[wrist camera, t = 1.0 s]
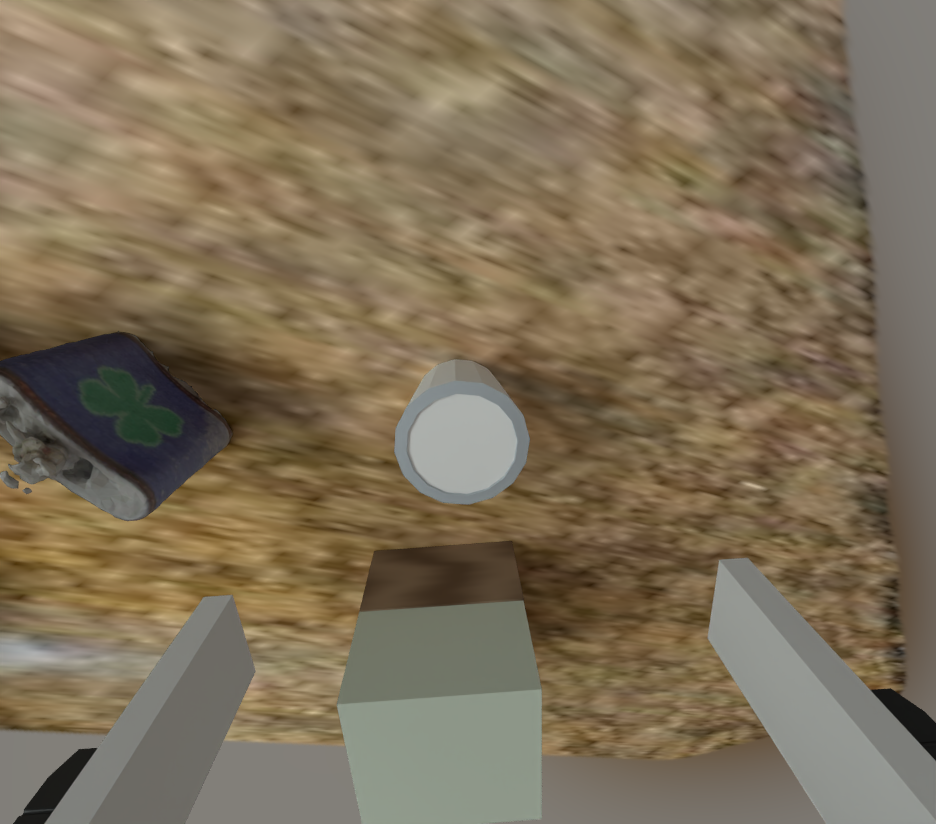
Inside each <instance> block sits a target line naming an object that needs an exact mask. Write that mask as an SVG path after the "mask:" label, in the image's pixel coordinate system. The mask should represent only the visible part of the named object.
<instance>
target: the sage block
mask: <svg viewBox="0 0 936 824" xmlns="http://www.w3.org/2000/svg"><path fill="white" fill-rule="evenodd" d="M337 708H338V713H339V718H340V722H341V727H342V732H343V737H344V741H345V746H346V751H347V755H348V760H349V765H350V769H351V774H352V779H353V783H354V789H355V793H356V797H357V803H358V807H359V812H360V817H361V822H362V824H484V823H497V822H510V821H523V820H536V819H542V804H541V803H542V688H541V684H540V679H539V674H538V669H537V664H536V659H535V654H534V650H533V645H532V640H531V635H530V630H529V625H528V620H527V616H526V611H525V606H524V601H509V602H494V603H480V604H466V605H451V606H437V607H423V608H409V609H395V610H381V611H366V612H359V616H358V620H357V624H356V628H355V632H354V636H353V640H352V644H351V648H350V652H349V656H348V660H347V665H346V669H345V673H344V677H343V681H342V685H341V689H340V693H339V697H338V701H337Z"/></svg>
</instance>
